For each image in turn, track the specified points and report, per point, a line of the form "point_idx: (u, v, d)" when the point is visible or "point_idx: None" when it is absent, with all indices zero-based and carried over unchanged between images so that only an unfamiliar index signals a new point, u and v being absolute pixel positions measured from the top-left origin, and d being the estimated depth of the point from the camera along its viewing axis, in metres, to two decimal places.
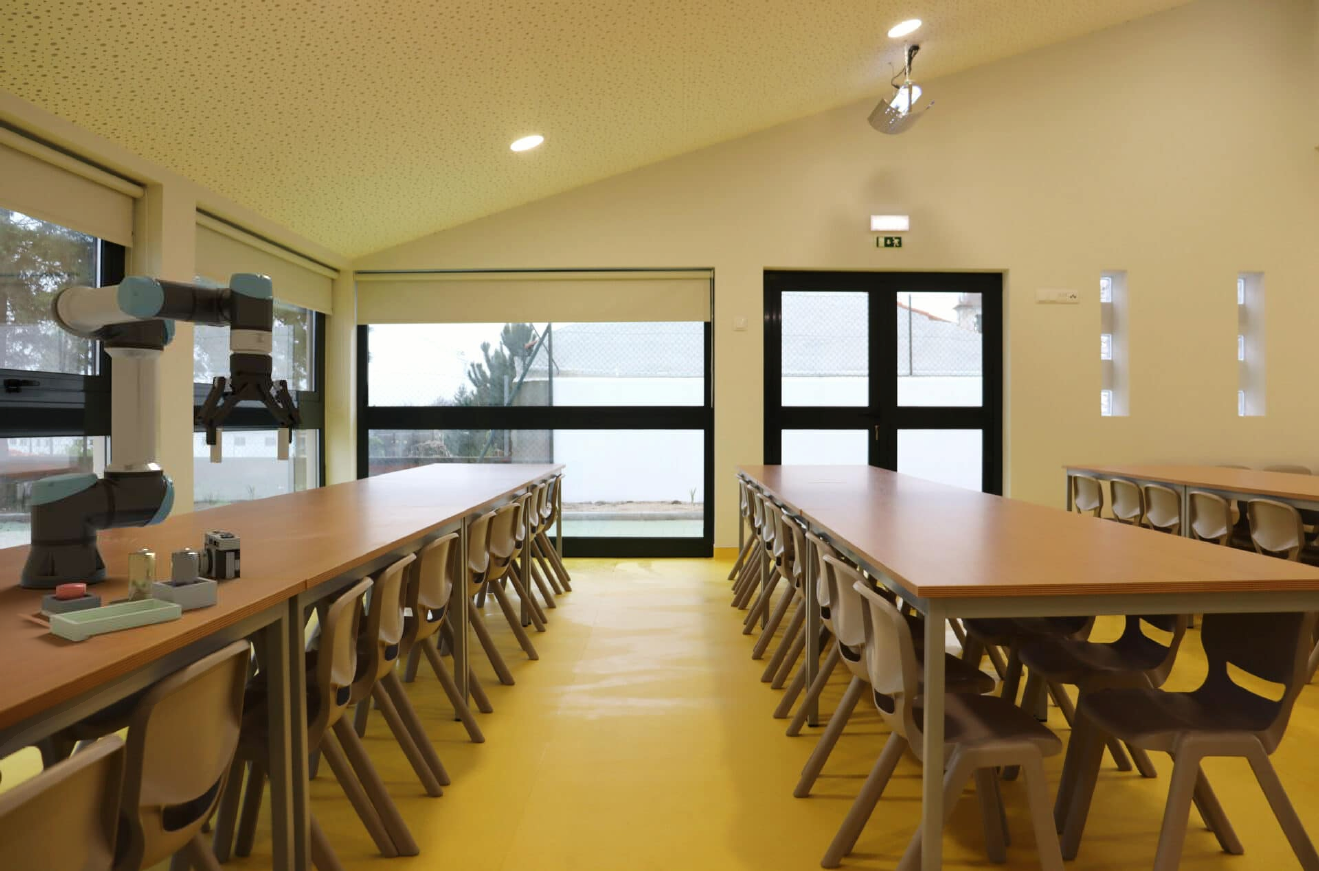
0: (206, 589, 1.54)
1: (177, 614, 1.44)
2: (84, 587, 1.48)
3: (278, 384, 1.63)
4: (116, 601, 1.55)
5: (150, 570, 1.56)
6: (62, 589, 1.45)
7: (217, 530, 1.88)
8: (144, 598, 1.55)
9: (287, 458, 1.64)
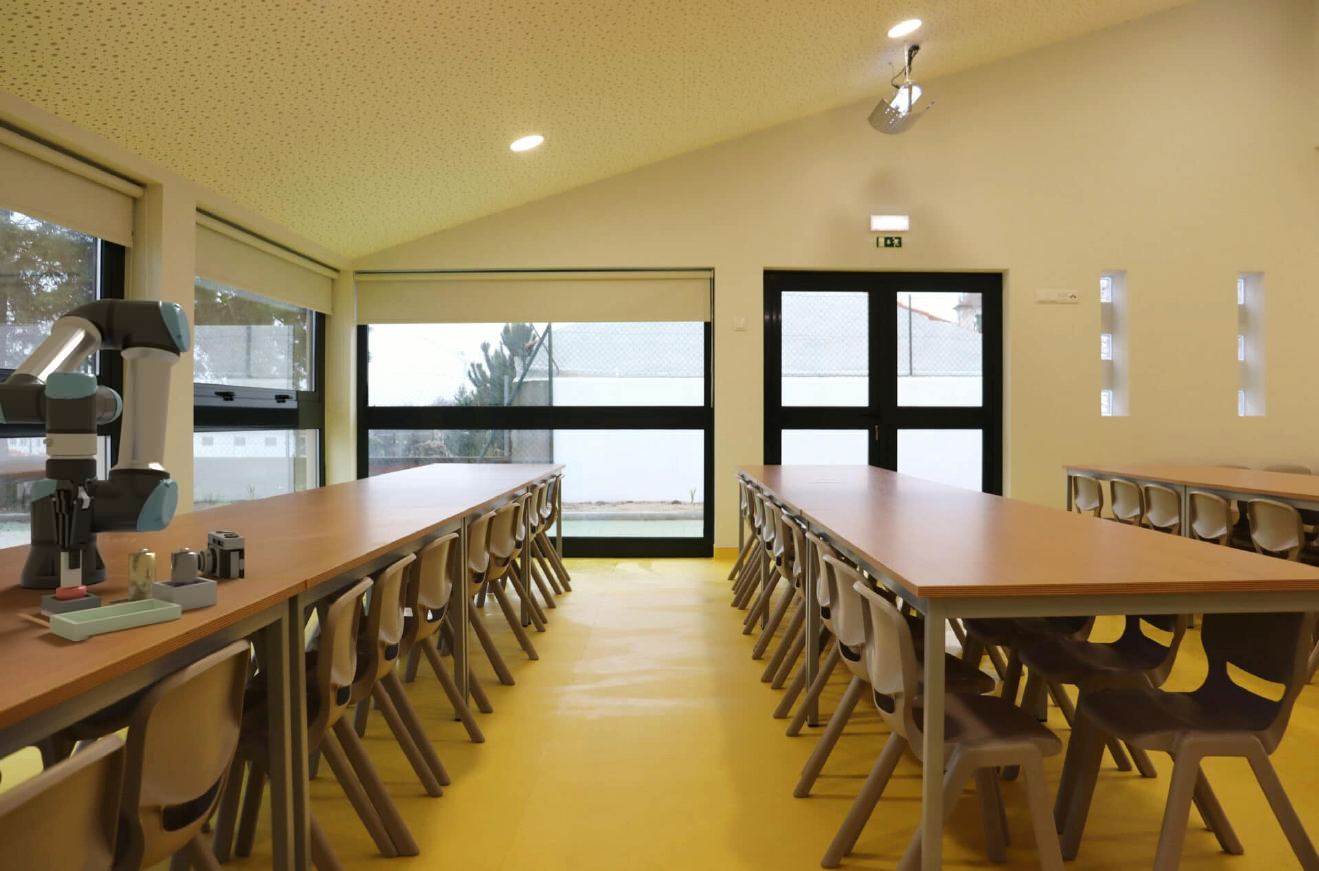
0: (206, 589, 1.54)
1: (177, 614, 1.44)
2: (84, 589, 1.48)
3: None
4: (116, 601, 1.55)
5: (150, 570, 1.56)
6: (62, 591, 1.45)
7: (220, 530, 1.89)
8: (144, 598, 1.55)
9: (63, 585, 1.46)
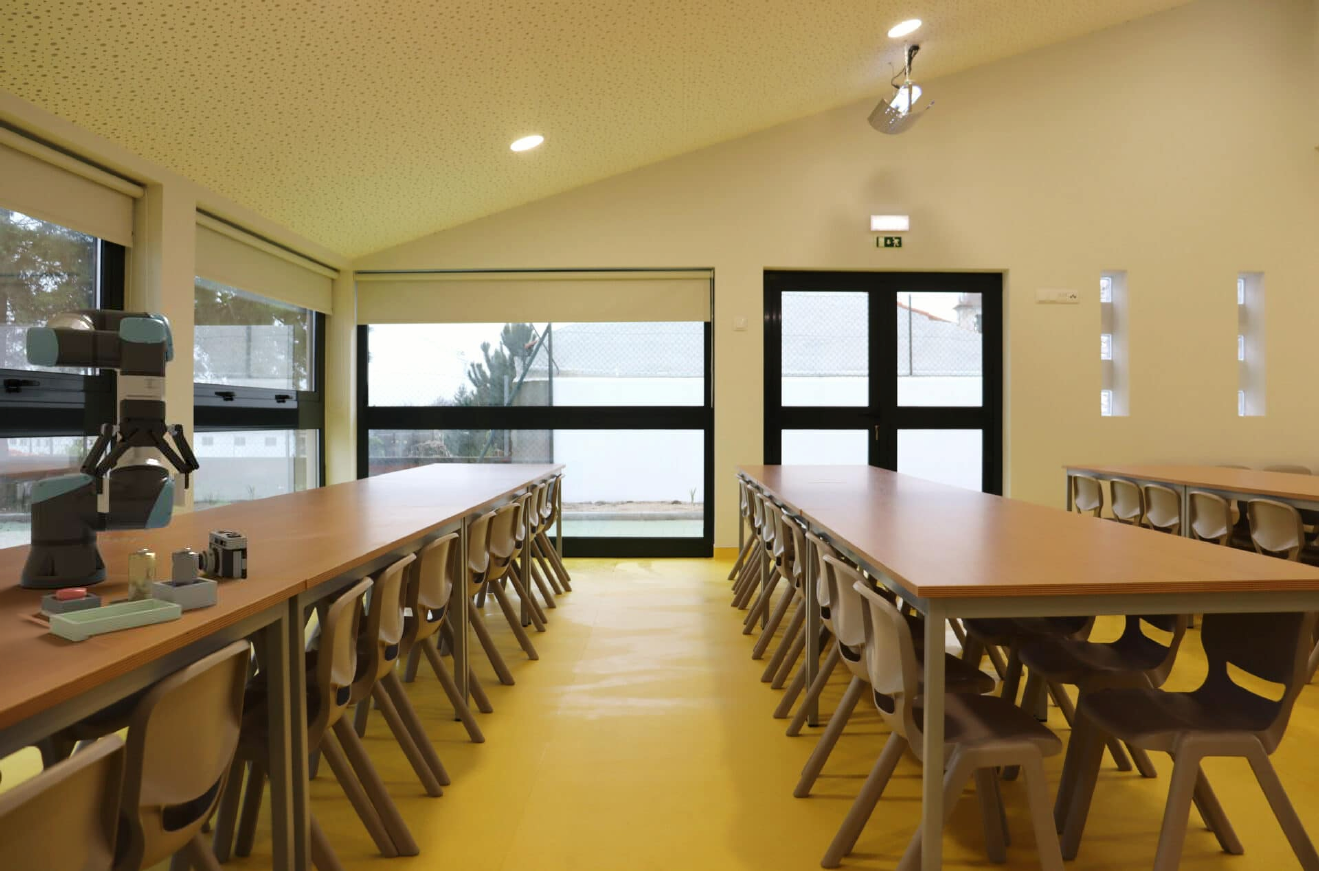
0: (206, 589, 1.54)
1: (177, 614, 1.44)
2: (84, 592, 1.48)
3: (173, 429, 1.60)
4: (116, 601, 1.55)
5: (150, 570, 1.56)
6: (62, 594, 1.45)
7: None
8: (144, 598, 1.55)
9: (183, 504, 1.61)
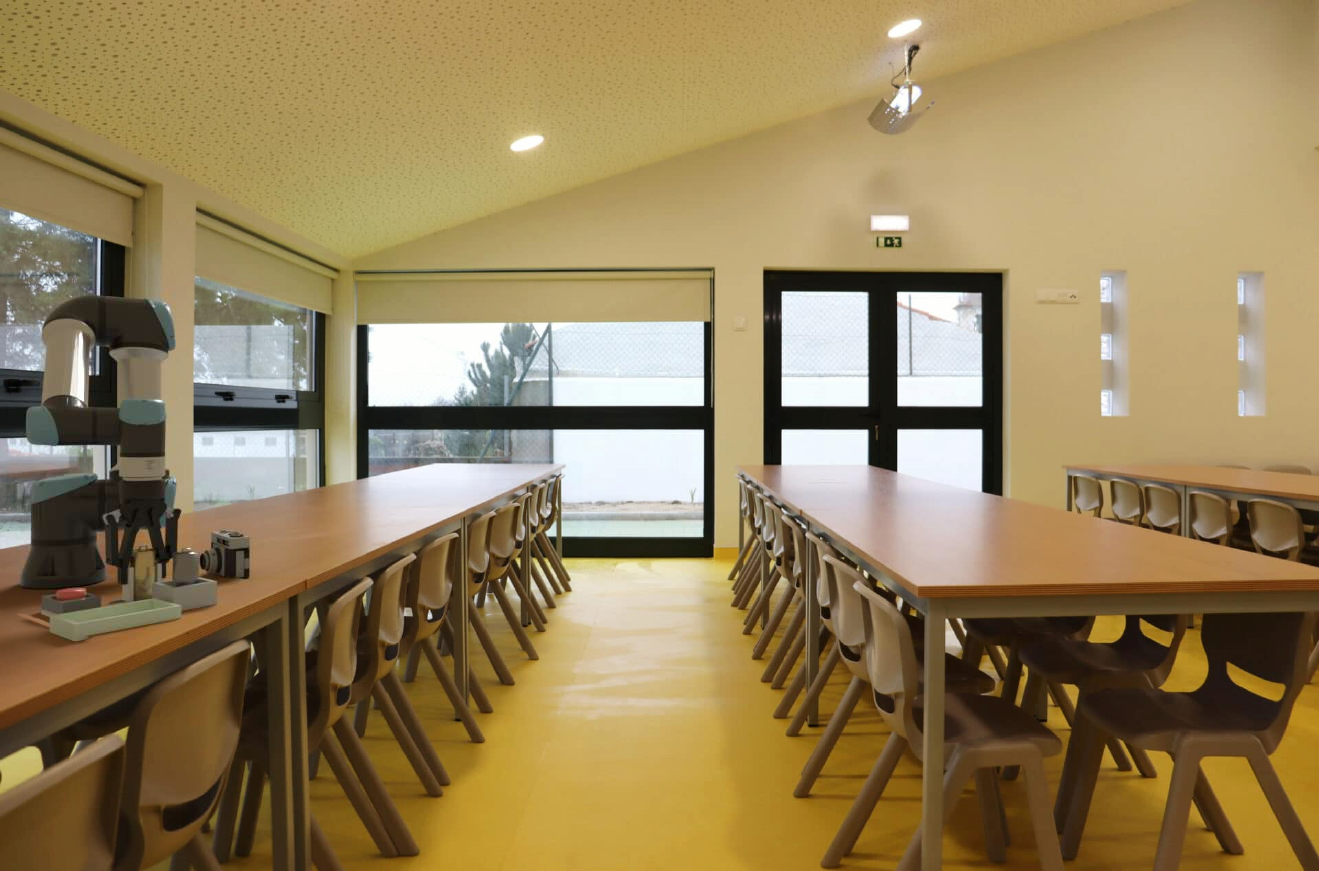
0: (206, 589, 1.54)
1: (177, 614, 1.44)
2: (84, 592, 1.48)
3: (171, 511, 1.60)
4: (116, 601, 1.55)
5: (150, 567, 1.56)
6: (62, 594, 1.45)
7: None
8: (144, 594, 1.55)
9: None
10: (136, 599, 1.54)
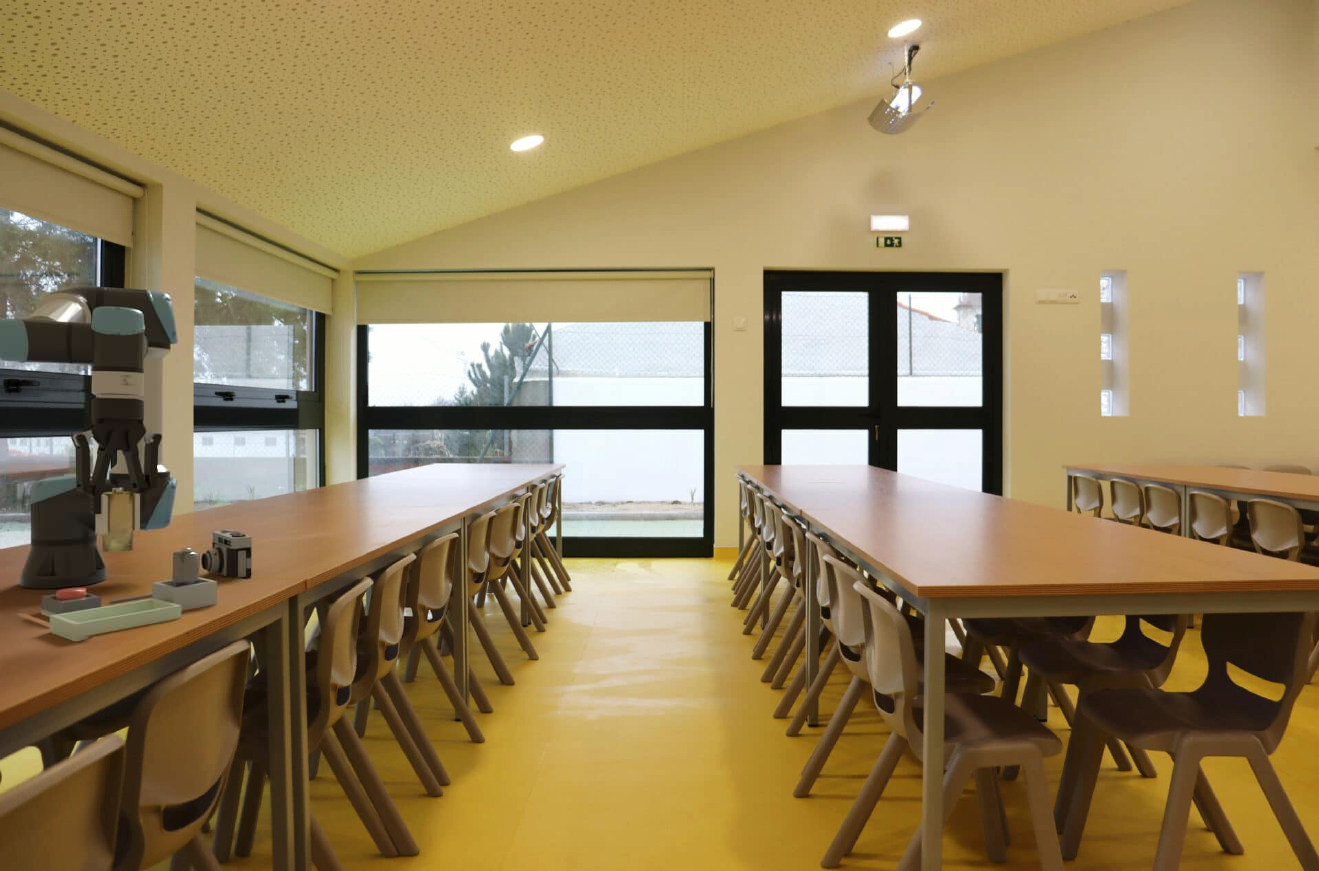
0: (206, 589, 1.54)
1: (177, 614, 1.44)
2: (84, 592, 1.48)
3: (151, 437, 1.44)
4: (116, 601, 1.55)
5: (127, 511, 1.39)
6: (62, 594, 1.45)
7: None
8: (120, 542, 1.39)
9: (138, 528, 1.42)
10: (111, 546, 1.38)
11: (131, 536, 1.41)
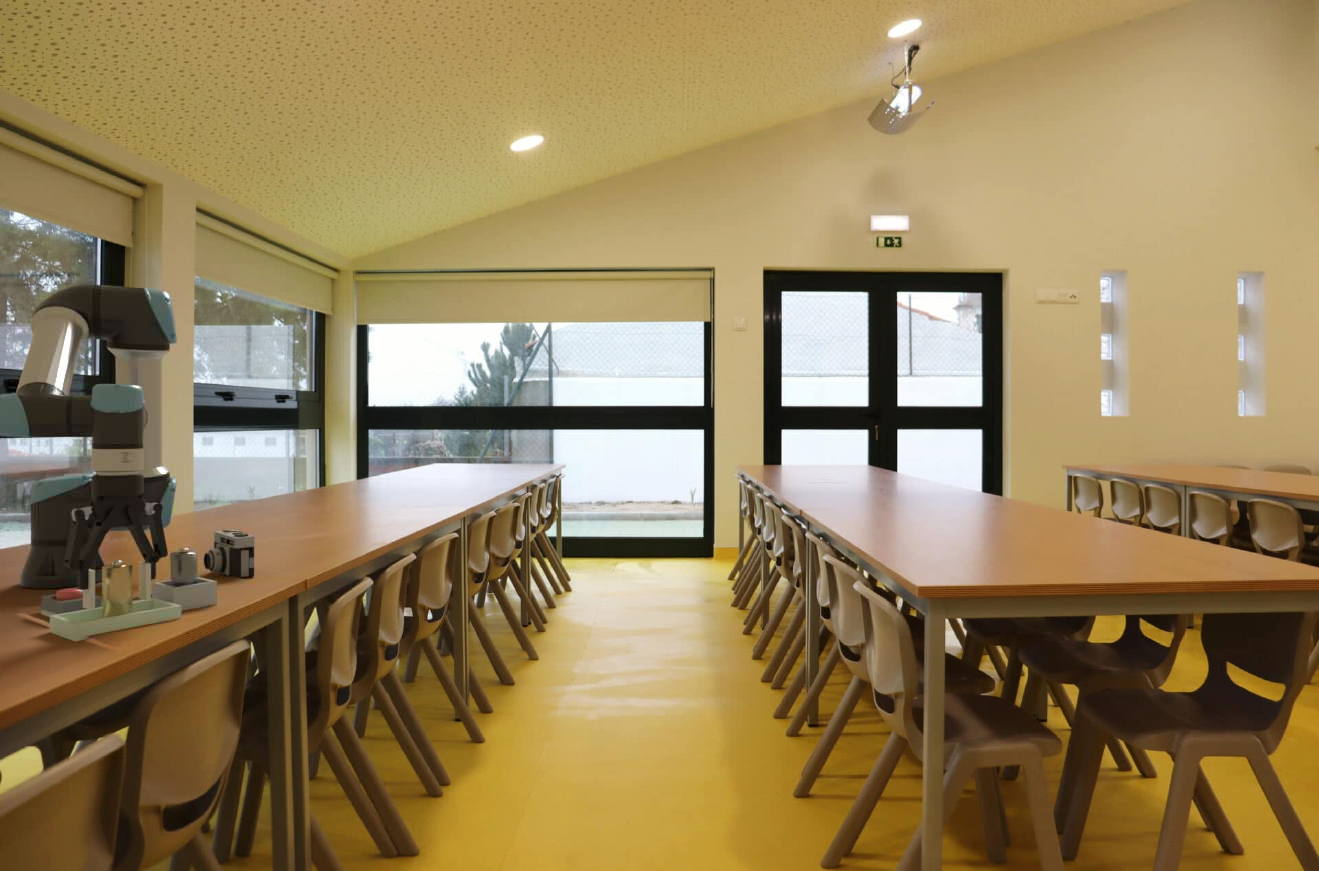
0: (206, 589, 1.54)
1: (177, 614, 1.44)
2: None
3: (151, 508, 1.44)
4: None
5: (126, 584, 1.40)
6: (62, 594, 1.45)
7: (227, 529, 1.91)
8: None
9: (149, 597, 1.44)
10: None
11: (130, 609, 1.41)
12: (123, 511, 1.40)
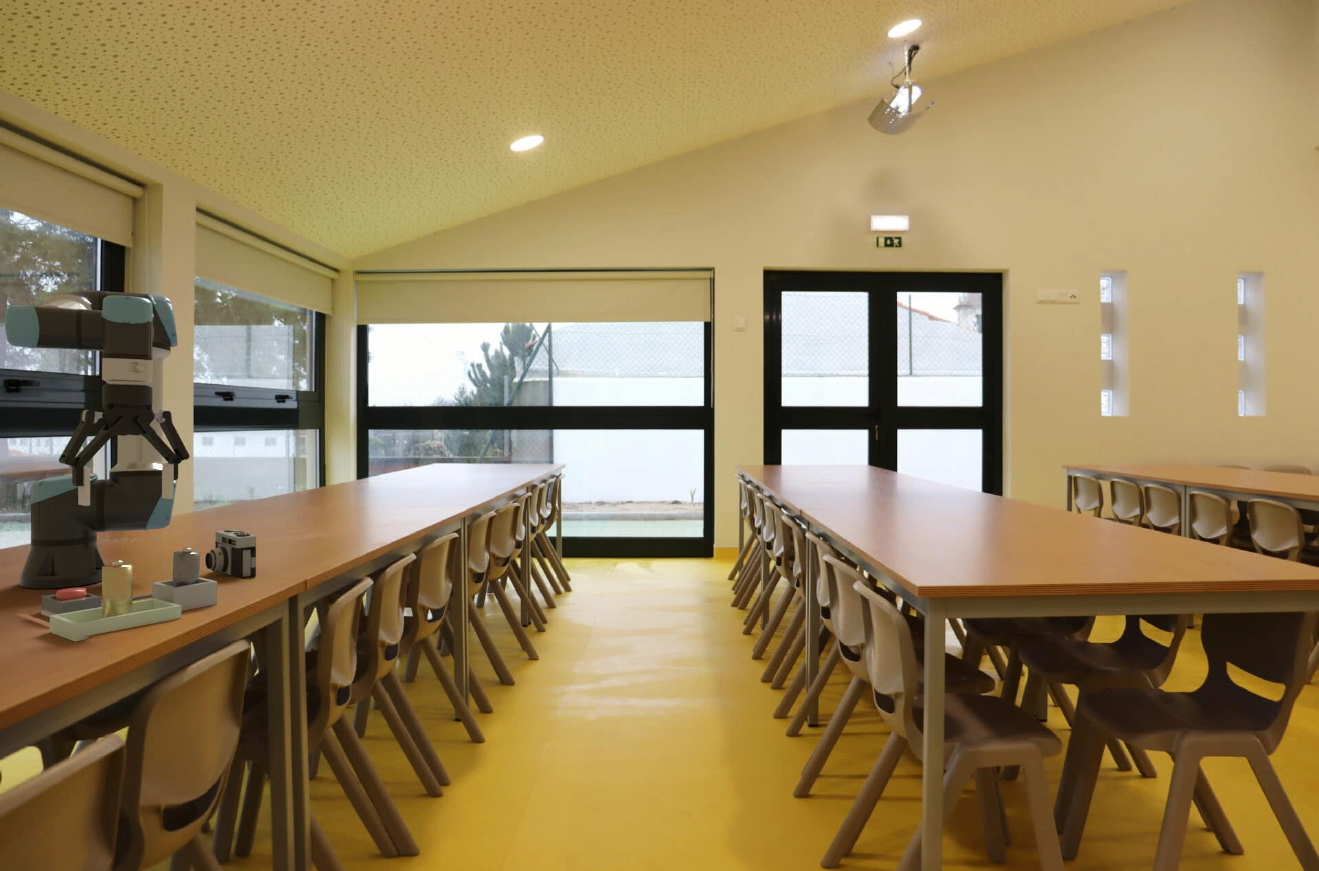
0: (206, 589, 1.54)
1: (177, 614, 1.44)
2: (84, 592, 1.48)
3: (161, 416, 1.49)
4: None
5: (126, 584, 1.40)
6: (62, 594, 1.45)
7: (228, 529, 1.91)
8: None
9: (172, 496, 1.50)
10: None
11: (130, 609, 1.41)
12: (133, 422, 1.44)
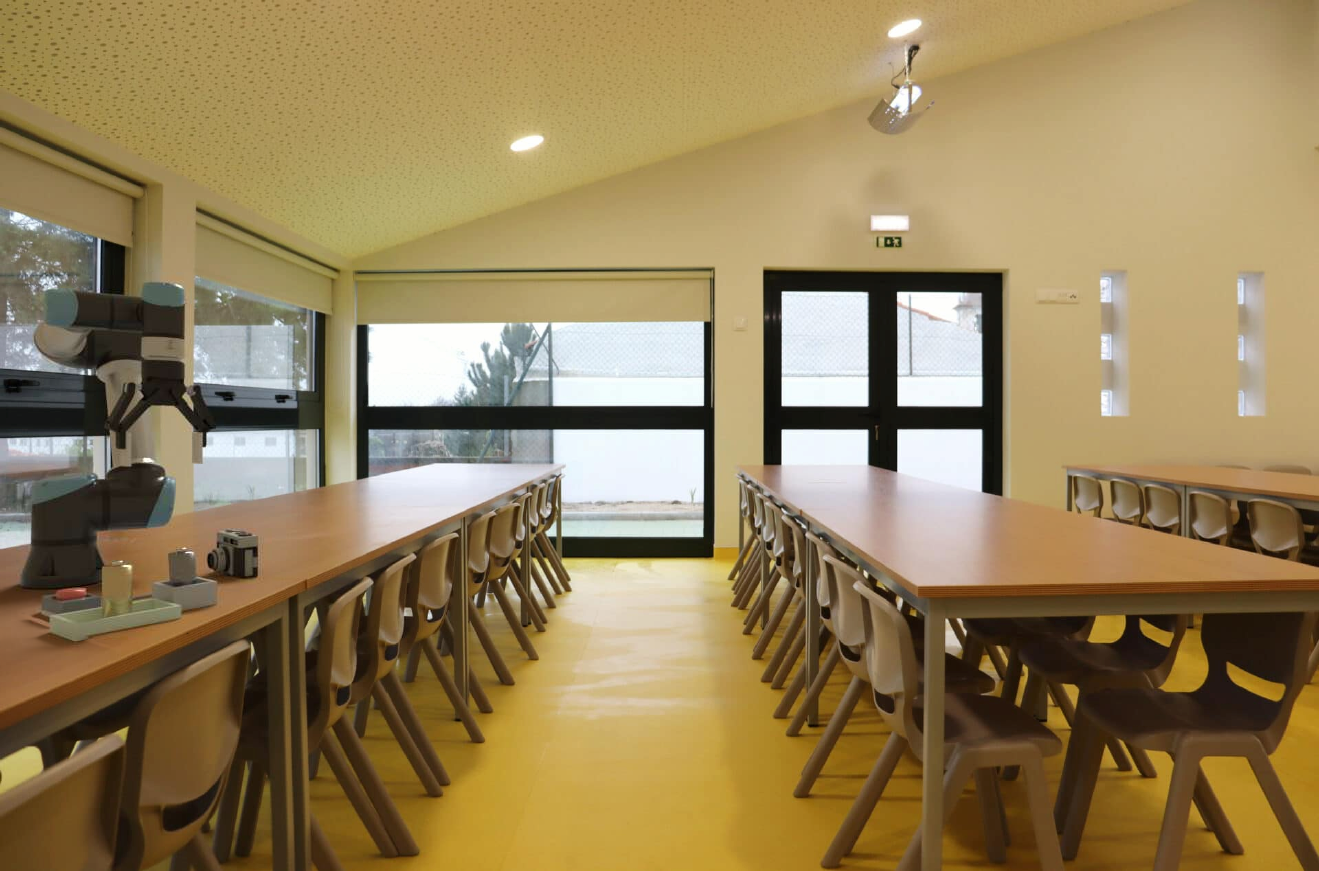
0: (206, 589, 1.54)
1: (177, 614, 1.44)
2: (84, 592, 1.48)
3: (191, 389, 1.68)
4: None
5: (126, 584, 1.40)
6: (62, 594, 1.45)
7: (229, 529, 1.91)
8: None
9: (201, 461, 1.69)
10: None
11: (130, 609, 1.41)
12: (168, 394, 1.63)
